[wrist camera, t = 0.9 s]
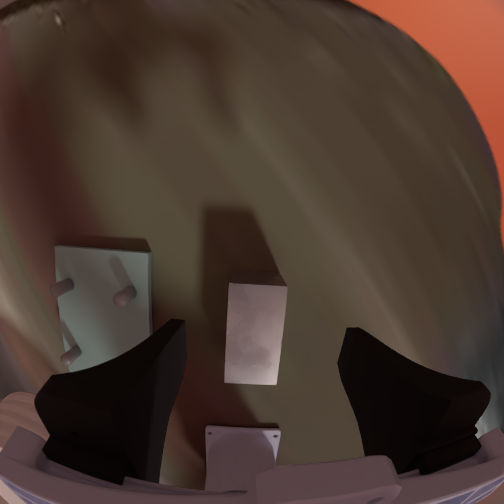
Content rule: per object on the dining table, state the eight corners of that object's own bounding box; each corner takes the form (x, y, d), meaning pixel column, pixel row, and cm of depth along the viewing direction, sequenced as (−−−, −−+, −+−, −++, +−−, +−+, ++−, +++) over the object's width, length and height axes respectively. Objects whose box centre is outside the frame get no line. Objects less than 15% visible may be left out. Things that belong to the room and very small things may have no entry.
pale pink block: (270, 355, 26) (276, 384, 21) (227, 353, 26) (224, 382, 21) (279, 271, 25) (287, 286, 20) (231, 268, 25) (228, 282, 20)
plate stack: (-17, 407, 27) (-50, 438, 16) (55, 368, 26) (0, 420, 14) (84, 511, 31) (67, 548, 19) (191, 505, 29) (183, 563, 18)
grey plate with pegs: (156, 389, 26) (147, 408, 22) (74, 371, 26) (59, 386, 22) (151, 251, 24) (137, 258, 21) (60, 244, 24) (39, 249, 20)
